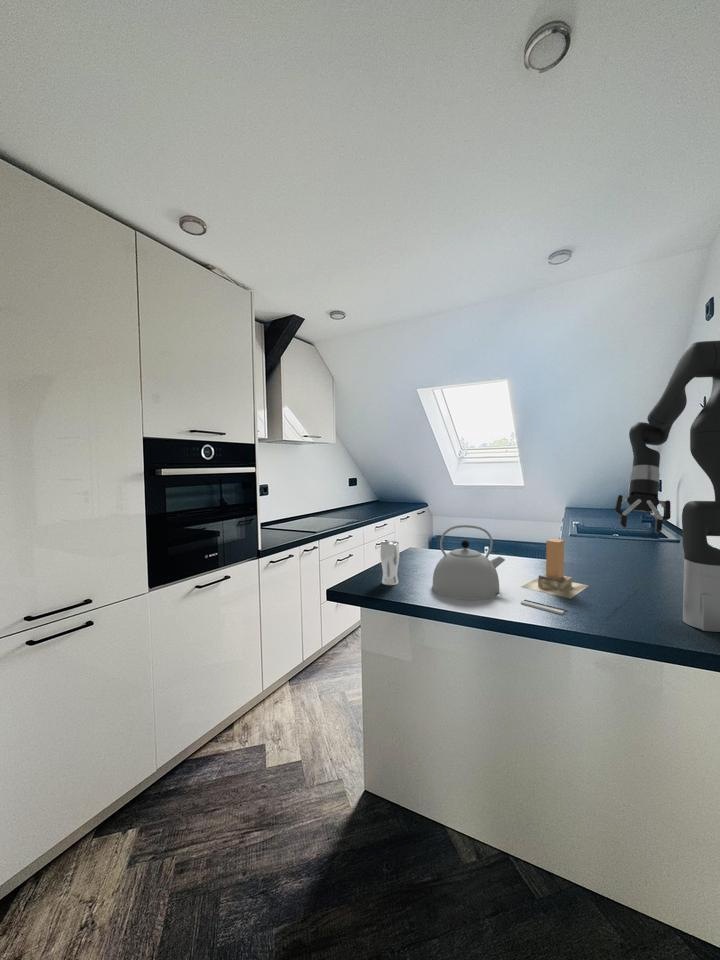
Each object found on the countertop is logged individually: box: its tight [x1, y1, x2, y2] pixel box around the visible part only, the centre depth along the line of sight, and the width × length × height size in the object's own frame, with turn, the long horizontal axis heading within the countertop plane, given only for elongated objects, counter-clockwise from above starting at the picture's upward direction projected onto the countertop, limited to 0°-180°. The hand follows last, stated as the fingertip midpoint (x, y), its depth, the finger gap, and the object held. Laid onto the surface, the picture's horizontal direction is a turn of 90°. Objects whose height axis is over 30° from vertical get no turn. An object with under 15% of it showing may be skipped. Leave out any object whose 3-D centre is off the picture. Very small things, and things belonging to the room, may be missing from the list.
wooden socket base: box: [520, 573, 590, 599], centre depth 133 cm, size 16×18×5 cm
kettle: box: [432, 524, 506, 601], centre depth 134 cm, size 25×23×23 cm
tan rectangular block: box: [545, 538, 565, 580], centre depth 132 cm, size 4×5×16 cm
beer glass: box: [379, 540, 400, 586], centre depth 142 cm, size 7×7×15 cm
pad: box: [520, 599, 568, 616], centre depth 119 cm, size 12×12×1 cm
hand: (640, 530), depth 122 cm, fingers open, 8 cm apart
